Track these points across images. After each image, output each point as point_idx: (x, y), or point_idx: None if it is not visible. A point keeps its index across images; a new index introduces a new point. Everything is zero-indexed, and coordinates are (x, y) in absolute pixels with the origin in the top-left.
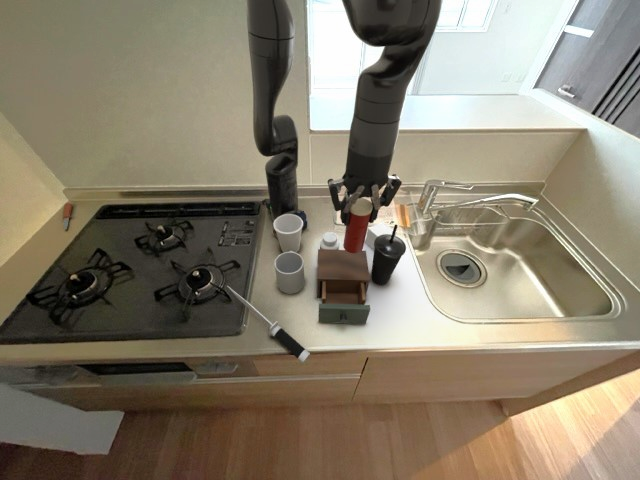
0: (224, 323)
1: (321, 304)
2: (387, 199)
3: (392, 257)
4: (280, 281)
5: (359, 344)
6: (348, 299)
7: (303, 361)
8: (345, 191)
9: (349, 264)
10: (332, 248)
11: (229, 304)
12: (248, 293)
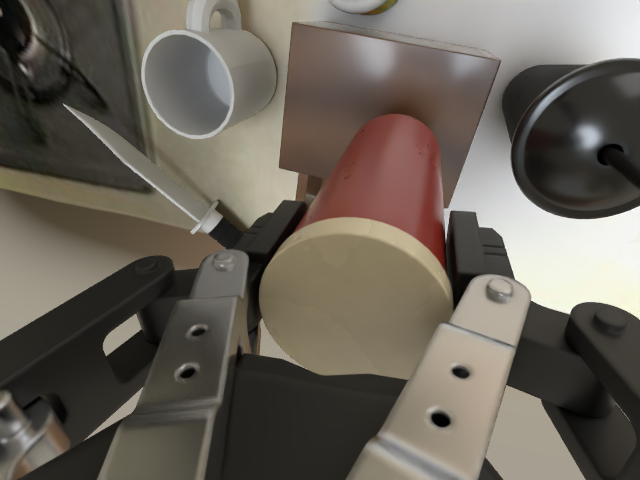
0: (115, 163)
1: None
2: (580, 457)
3: (560, 214)
4: (192, 111)
5: None
6: None
7: None
8: (174, 313)
9: None
10: (360, 6)
11: (106, 116)
12: (137, 90)
